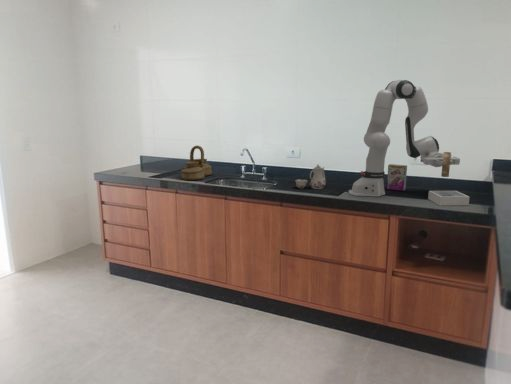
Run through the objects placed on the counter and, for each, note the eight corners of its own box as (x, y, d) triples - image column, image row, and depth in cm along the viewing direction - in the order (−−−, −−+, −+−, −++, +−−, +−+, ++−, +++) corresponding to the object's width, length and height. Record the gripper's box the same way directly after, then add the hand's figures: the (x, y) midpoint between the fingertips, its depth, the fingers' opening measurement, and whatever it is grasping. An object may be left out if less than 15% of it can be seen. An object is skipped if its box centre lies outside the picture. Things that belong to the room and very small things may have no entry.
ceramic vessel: (193, 173, 343) (192, 143, 338) (214, 174, 339) (213, 143, 334) (177, 180, 310) (175, 147, 305) (200, 181, 307) (199, 147, 301)
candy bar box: (386, 189, 274) (387, 164, 271) (388, 188, 278) (390, 163, 275) (403, 191, 268) (405, 166, 264) (405, 189, 272) (407, 165, 268)
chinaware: (317, 185, 298) (316, 162, 296) (336, 185, 286) (335, 161, 284) (292, 190, 279) (290, 166, 277) (311, 191, 267) (310, 166, 265)
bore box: (439, 205, 230) (440, 196, 229) (428, 199, 245) (428, 190, 244) (468, 205, 230) (469, 196, 229) (455, 198, 245) (456, 190, 244)
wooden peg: (443, 177, 239) (445, 152, 236) (440, 175, 243) (442, 152, 240) (450, 176, 239) (452, 152, 236) (446, 175, 243) (449, 152, 240)
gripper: (420, 154, 251) (429, 157, 238) (453, 154, 252) (465, 157, 238) (419, 164, 253) (428, 168, 239) (452, 164, 253) (463, 168, 239)
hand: (447, 162), depth 239 cm, fingers closed on wooden peg, 4 cm apart
